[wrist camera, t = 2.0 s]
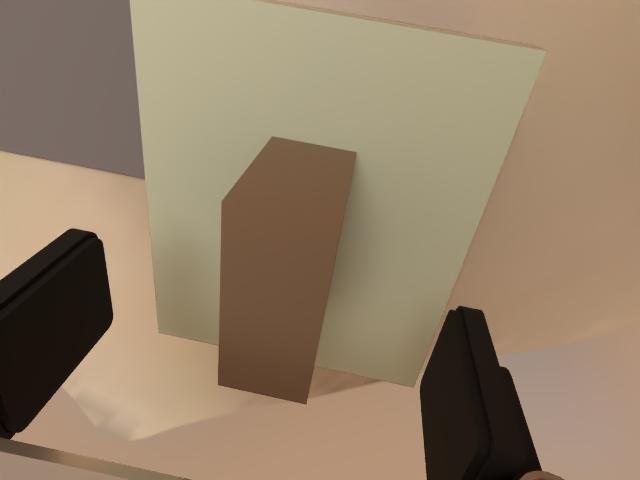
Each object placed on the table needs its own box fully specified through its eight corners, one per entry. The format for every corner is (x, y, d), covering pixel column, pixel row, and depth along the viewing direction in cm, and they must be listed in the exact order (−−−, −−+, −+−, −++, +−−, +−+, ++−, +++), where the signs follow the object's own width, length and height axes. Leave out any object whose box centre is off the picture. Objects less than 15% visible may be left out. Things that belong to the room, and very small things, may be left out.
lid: (165, -21, 13) (-10, -24, 7) (524, 40, 12) (634, 90, 7) (180, 300, 20) (96, 426, 14) (411, 348, 19) (419, 499, 14)
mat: (-159, -229, 16) (-172, -233, 15) (154, -181, 15) (149, -184, 15) (-40, 138, 23) (-47, 141, 23) (172, 180, 22) (169, 183, 22)
